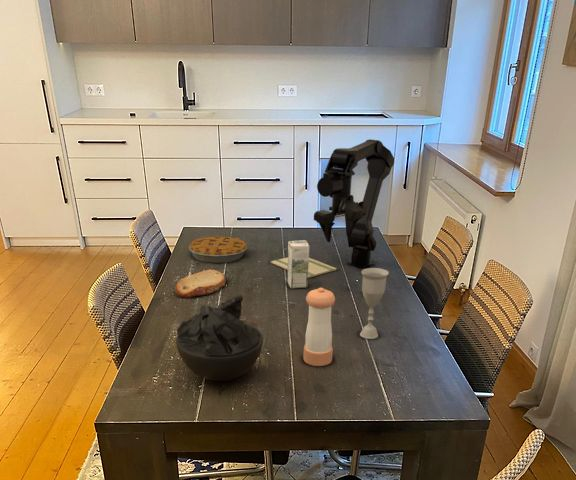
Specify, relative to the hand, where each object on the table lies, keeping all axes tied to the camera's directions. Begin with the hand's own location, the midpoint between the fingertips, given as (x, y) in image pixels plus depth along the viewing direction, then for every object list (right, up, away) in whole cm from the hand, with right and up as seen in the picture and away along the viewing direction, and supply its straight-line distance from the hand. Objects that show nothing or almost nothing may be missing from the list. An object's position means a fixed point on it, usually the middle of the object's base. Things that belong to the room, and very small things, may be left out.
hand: (338, 239), depth 195 cm
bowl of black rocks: (-33, -46, -54) cm, 79 cm away
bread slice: (-45, -16, -4) cm, 48 cm away
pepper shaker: (-9, -42, -46) cm, 63 cm away
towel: (-11, -6, +15) cm, 20 cm away
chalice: (+6, -35, -33) cm, 48 cm away
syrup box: (-14, -16, -1) cm, 21 cm away
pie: (-43, 0, +25) cm, 50 cm away
